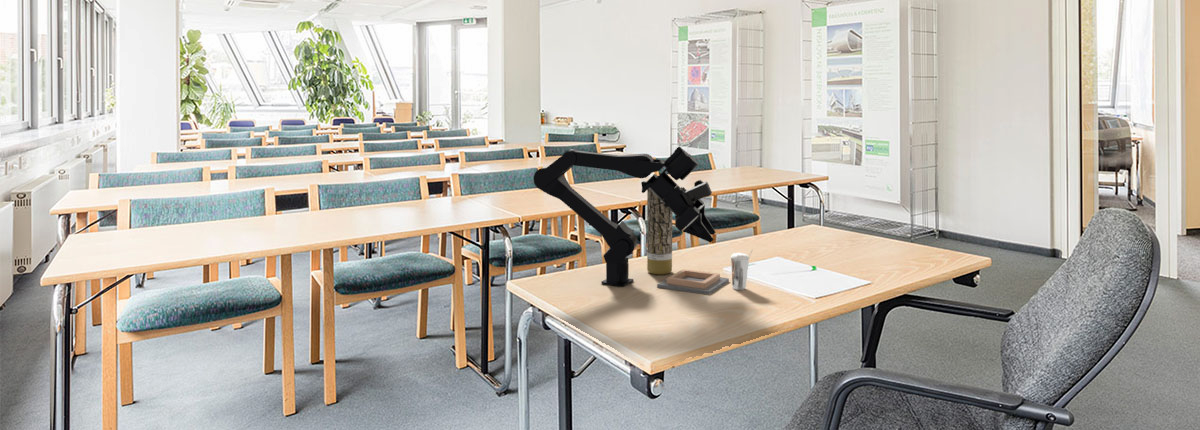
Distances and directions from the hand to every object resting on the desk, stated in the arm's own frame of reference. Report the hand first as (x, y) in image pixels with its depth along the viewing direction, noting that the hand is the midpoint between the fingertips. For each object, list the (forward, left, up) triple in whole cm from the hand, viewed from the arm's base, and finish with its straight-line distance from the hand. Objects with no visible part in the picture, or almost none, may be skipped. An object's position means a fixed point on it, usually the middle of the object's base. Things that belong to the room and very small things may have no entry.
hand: (713, 237), depth 177 cm
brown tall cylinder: (+7, +18, -13) cm, 24 cm away
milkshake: (+2, -7, -13) cm, 15 cm away
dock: (0, +5, -13) cm, 14 cm away
